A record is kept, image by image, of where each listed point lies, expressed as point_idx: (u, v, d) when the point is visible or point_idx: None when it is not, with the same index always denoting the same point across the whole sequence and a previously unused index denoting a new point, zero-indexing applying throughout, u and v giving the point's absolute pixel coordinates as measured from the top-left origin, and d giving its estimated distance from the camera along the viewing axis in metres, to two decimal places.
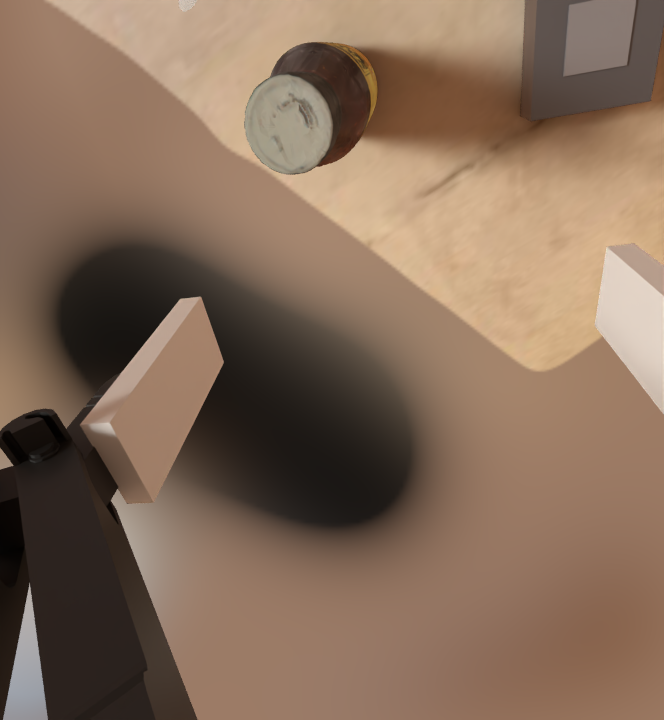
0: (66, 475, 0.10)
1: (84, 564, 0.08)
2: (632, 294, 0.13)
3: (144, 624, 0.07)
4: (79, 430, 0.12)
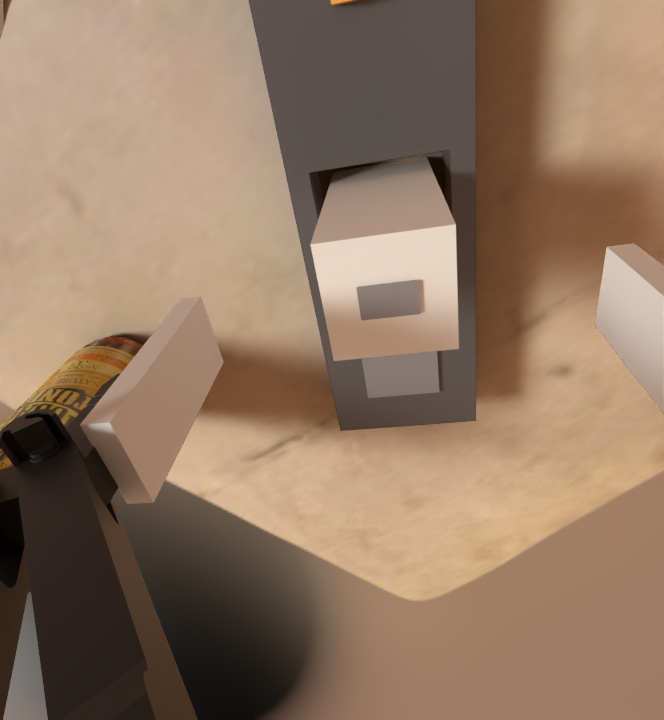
0: (66, 475, 0.10)
1: (84, 564, 0.08)
2: (633, 294, 0.13)
3: (144, 624, 0.07)
4: (79, 430, 0.12)
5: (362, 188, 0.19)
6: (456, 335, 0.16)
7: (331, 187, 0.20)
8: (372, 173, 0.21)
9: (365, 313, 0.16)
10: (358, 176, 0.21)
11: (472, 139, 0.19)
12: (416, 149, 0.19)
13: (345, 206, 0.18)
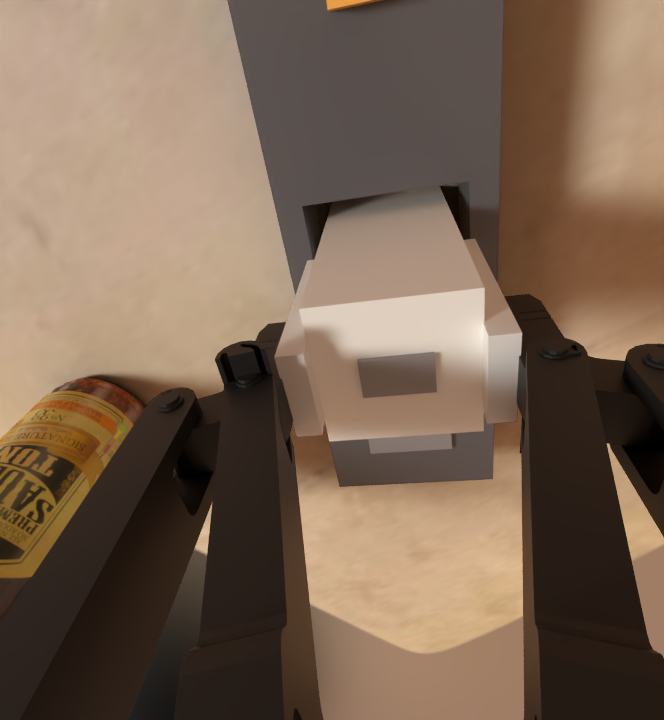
0: (260, 407, 0.10)
1: (256, 496, 0.08)
2: None
3: (292, 572, 0.08)
4: None
5: (365, 226, 0.16)
6: (481, 416, 0.13)
7: (328, 223, 0.17)
8: (377, 206, 0.18)
9: (368, 389, 0.13)
10: (360, 209, 0.18)
11: (496, 169, 0.16)
12: (429, 180, 0.16)
13: (344, 252, 0.15)
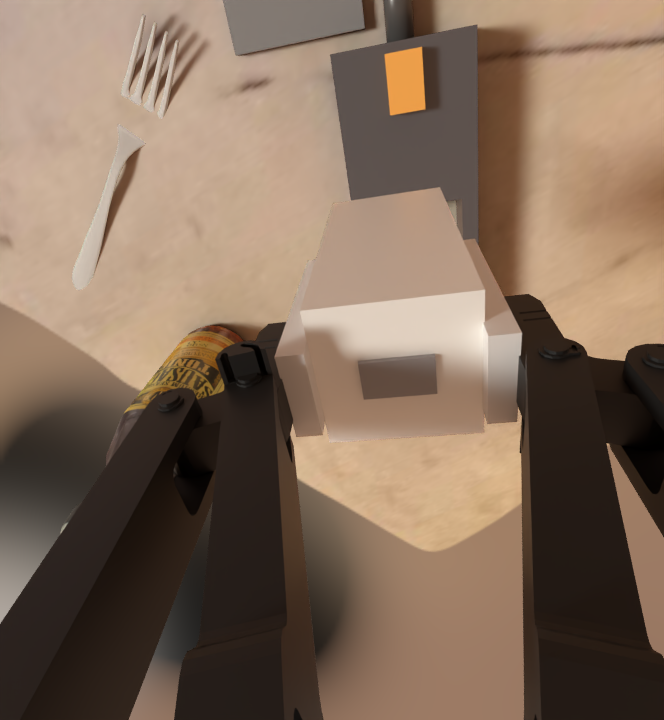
0: (260, 407, 0.10)
1: (257, 496, 0.08)
2: None
3: (293, 572, 0.08)
4: None
5: (365, 228, 0.16)
6: (481, 417, 0.13)
7: (329, 225, 0.17)
8: (377, 207, 0.18)
9: (369, 391, 0.13)
10: (361, 211, 0.18)
11: (476, 192, 0.30)
12: None
13: (345, 253, 0.15)
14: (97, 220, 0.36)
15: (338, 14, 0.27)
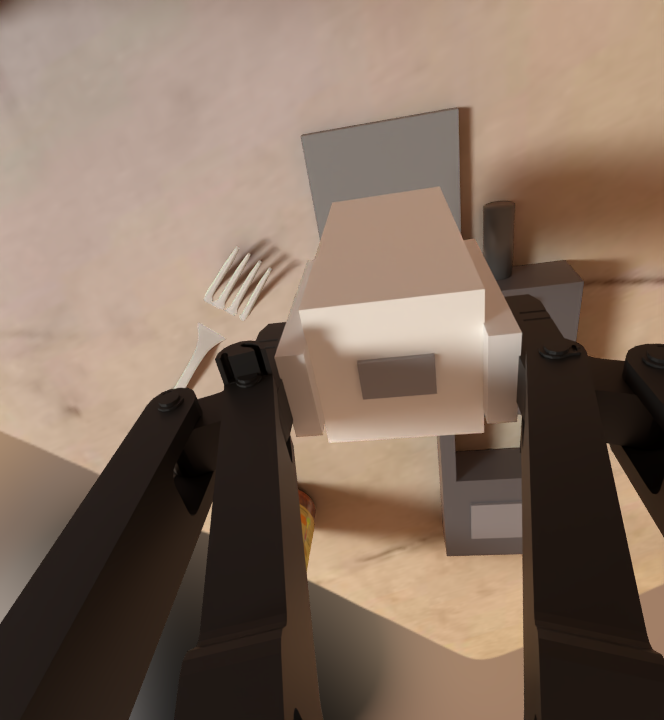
0: (260, 407, 0.10)
1: (256, 496, 0.08)
2: None
3: (293, 572, 0.08)
4: None
5: (365, 227, 0.16)
6: (481, 417, 0.13)
7: (328, 224, 0.17)
8: (377, 206, 0.18)
9: (368, 391, 0.13)
10: (360, 210, 0.18)
11: None
12: None
13: (344, 253, 0.15)
14: None
15: None
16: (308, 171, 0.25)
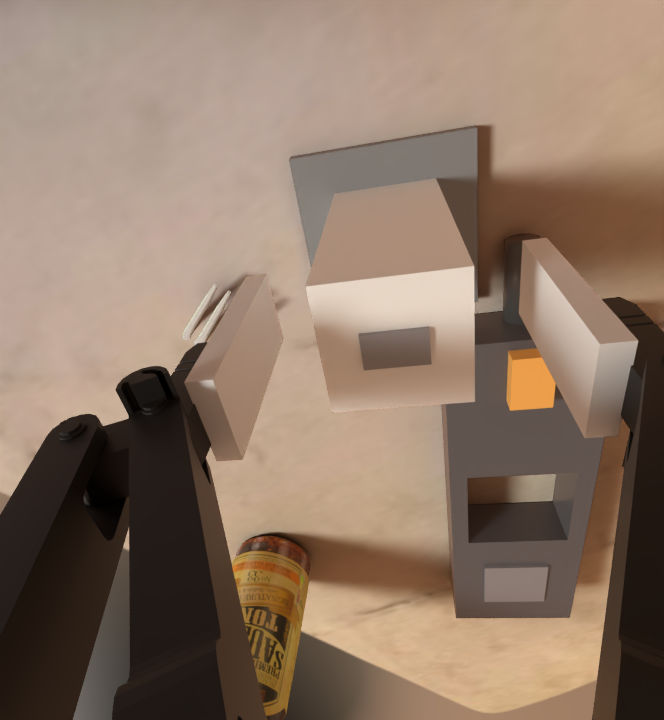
0: (170, 432, 0.10)
1: (177, 520, 0.08)
2: (538, 283, 0.14)
3: (222, 589, 0.08)
4: None
5: (365, 215, 0.18)
6: (472, 387, 0.14)
7: (331, 213, 0.19)
8: (376, 197, 0.19)
9: (368, 362, 0.14)
10: (361, 200, 0.19)
11: (596, 468, 0.26)
12: (552, 471, 0.26)
13: (346, 237, 0.16)
14: None
15: None
16: (298, 199, 0.21)
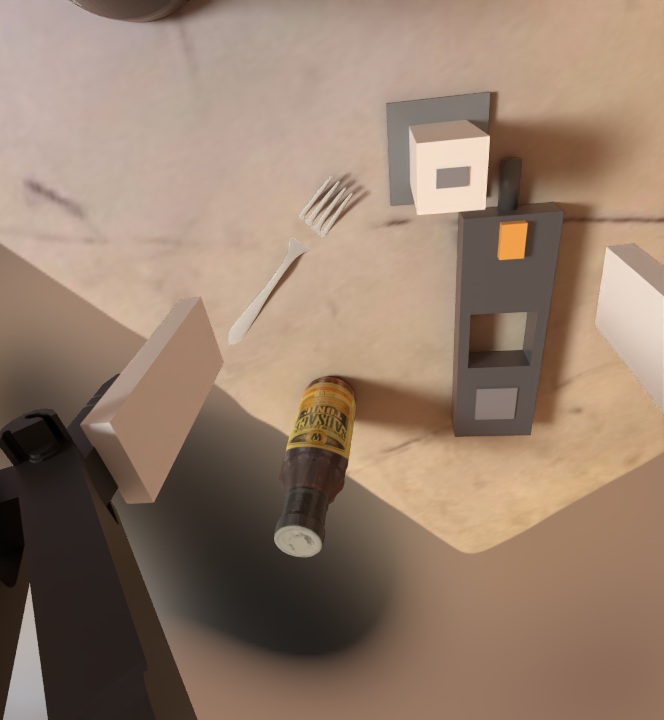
0: (66, 475, 0.10)
1: (84, 564, 0.08)
2: (632, 294, 0.13)
3: (144, 624, 0.07)
4: (79, 430, 0.12)
5: (432, 129, 0.34)
6: (484, 201, 0.31)
7: (412, 130, 0.35)
8: (435, 125, 0.36)
9: (439, 184, 0.31)
10: (426, 126, 0.36)
11: (548, 308, 0.43)
12: (522, 309, 0.43)
13: (426, 134, 0.33)
14: (259, 298, 0.48)
15: None
16: (388, 128, 0.38)
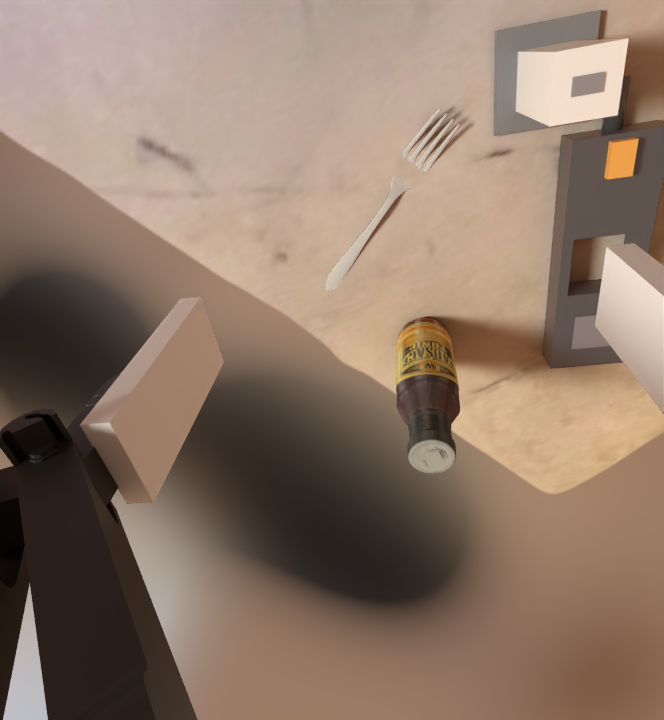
0: (66, 475, 0.10)
1: (84, 564, 0.08)
2: (632, 294, 0.13)
3: (144, 624, 0.07)
4: (79, 430, 0.12)
5: (551, 47, 0.36)
6: (617, 106, 0.32)
7: (529, 51, 0.37)
8: (548, 46, 0.38)
9: (574, 92, 0.32)
10: (540, 48, 0.38)
11: (652, 227, 0.44)
12: (626, 231, 0.44)
13: (553, 49, 0.34)
14: (359, 241, 0.50)
15: None
16: (497, 55, 0.40)
